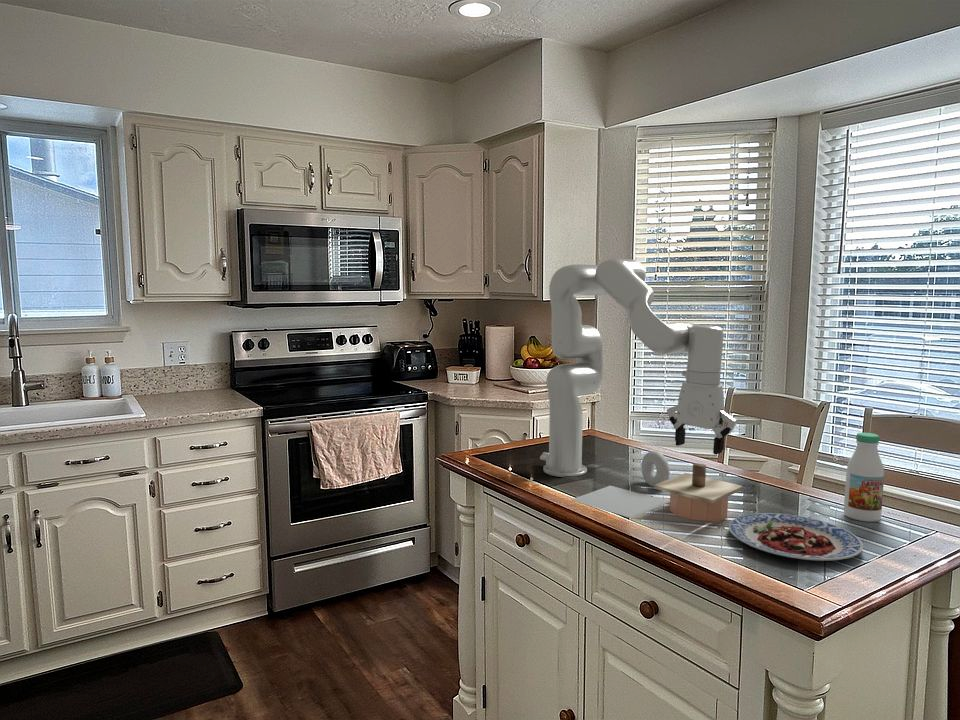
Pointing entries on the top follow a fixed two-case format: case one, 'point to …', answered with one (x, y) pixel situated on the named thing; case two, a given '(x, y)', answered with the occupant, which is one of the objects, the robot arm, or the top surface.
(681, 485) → the lid
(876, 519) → the milk bottle
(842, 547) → the ceramic plate
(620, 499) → the mat
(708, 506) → the bowl
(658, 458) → the donut
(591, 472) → the top surface
